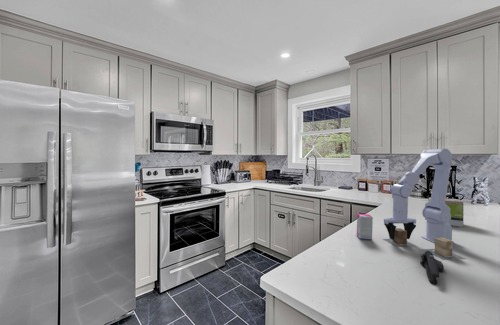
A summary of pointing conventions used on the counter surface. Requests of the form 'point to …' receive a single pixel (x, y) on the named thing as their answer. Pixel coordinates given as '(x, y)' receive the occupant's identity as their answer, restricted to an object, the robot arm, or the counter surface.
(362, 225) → the supplement box
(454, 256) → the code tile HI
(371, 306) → the counter surface
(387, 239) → the tile
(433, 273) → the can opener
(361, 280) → the counter surface
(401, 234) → the walnut block
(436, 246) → the oak block
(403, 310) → the counter surface
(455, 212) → the tea box
